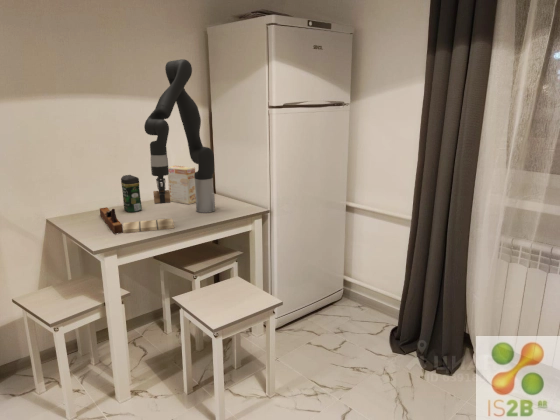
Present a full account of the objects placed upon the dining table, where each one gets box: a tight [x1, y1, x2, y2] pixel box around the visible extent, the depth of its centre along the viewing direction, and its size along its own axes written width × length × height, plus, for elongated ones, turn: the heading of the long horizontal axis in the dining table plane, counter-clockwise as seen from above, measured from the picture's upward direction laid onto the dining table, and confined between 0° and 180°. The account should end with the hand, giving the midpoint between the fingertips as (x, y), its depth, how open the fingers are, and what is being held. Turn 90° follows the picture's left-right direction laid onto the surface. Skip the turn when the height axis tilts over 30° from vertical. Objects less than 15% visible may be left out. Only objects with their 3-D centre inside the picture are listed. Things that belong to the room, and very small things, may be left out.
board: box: [122, 217, 175, 234], centre depth 203 cm, size 22×11×2 cm, turn 108°
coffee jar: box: [120, 174, 143, 213], centre depth 228 cm, size 10×8×19 cm
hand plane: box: [99, 207, 124, 235], centre depth 208 cm, size 34×5×10 cm, turn 34°
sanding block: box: [153, 189, 171, 205], centre depth 201 cm, size 7×4×5 cm, turn 108°
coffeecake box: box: [167, 165, 196, 205], centre depth 245 cm, size 15×7×20 cm, turn 58°
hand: (162, 201), depth 202 cm, fingers closed on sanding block, 4 cm apart
